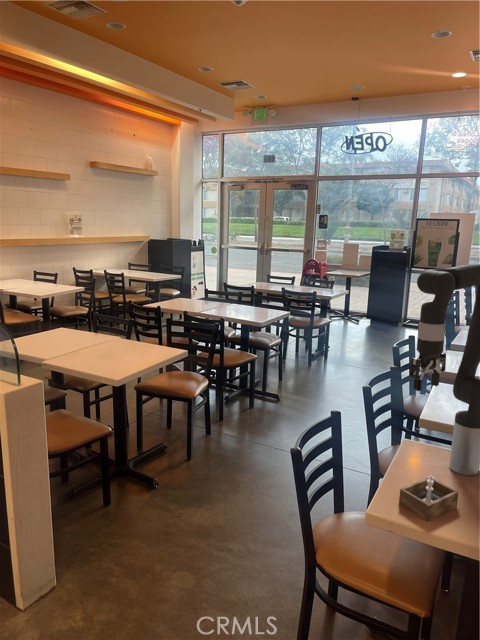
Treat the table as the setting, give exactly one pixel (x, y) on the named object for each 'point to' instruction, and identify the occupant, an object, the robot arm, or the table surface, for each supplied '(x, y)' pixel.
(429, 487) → the chess piece
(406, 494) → the walnut box
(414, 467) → the table surface
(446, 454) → the table surface
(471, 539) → the table surface
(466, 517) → the table surface
